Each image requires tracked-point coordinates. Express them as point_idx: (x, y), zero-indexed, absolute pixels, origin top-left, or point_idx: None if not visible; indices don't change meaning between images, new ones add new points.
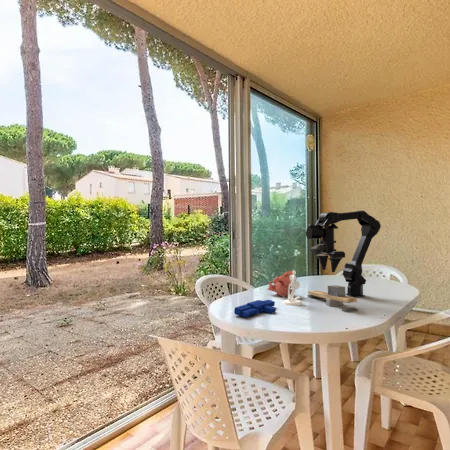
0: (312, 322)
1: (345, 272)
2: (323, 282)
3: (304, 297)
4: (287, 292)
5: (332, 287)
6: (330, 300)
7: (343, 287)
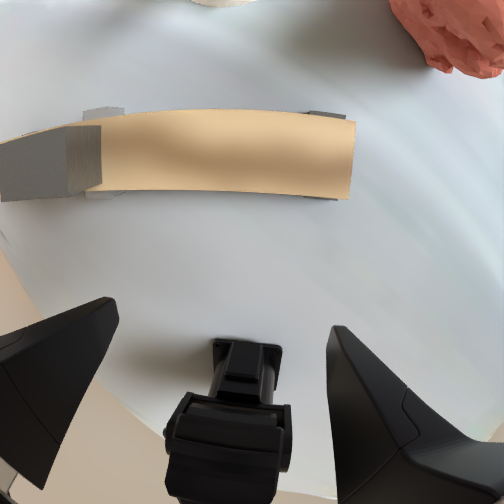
0: (16, 6)
1: (247, 442)
2: (490, 383)
3: (337, 88)
4: (393, 6)
5: (28, 135)
6: (83, 119)
7: (2, 189)
